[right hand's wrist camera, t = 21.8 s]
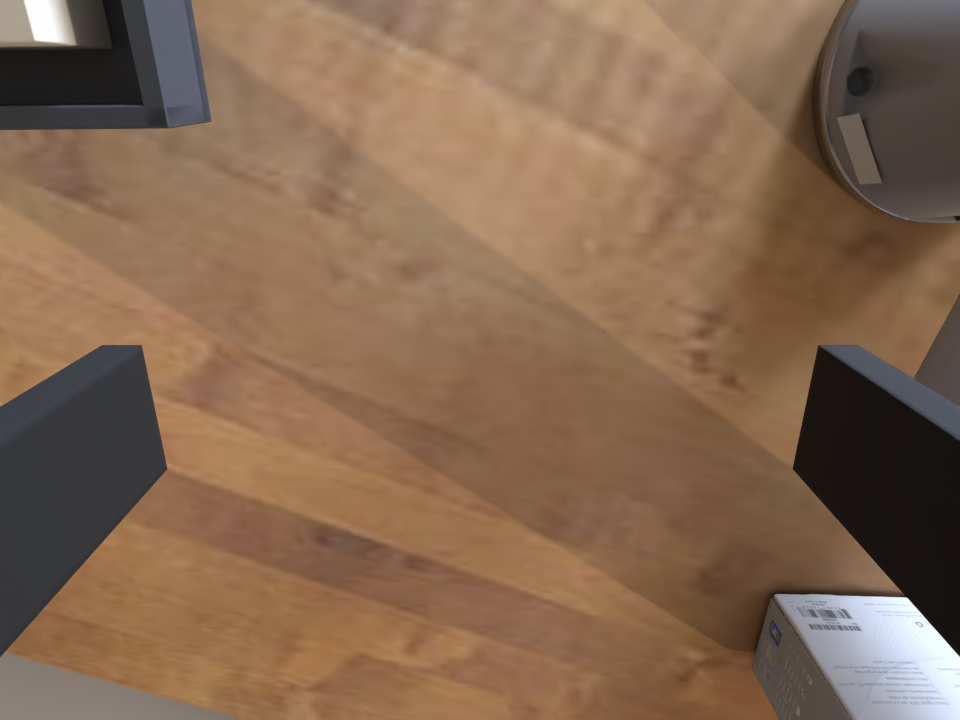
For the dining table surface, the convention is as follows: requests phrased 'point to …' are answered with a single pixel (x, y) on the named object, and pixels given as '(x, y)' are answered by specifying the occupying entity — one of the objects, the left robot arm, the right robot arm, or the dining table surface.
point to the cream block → (53, 25)
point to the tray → (112, 75)
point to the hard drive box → (855, 660)
